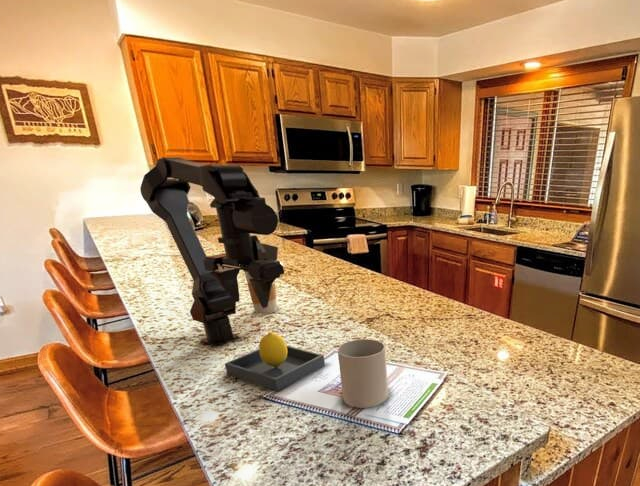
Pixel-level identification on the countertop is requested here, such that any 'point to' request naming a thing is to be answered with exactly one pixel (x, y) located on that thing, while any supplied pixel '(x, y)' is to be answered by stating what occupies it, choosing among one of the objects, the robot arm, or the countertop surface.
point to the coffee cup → (257, 306)
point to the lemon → (273, 349)
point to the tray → (272, 377)
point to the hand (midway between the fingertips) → (250, 304)
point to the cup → (363, 372)
